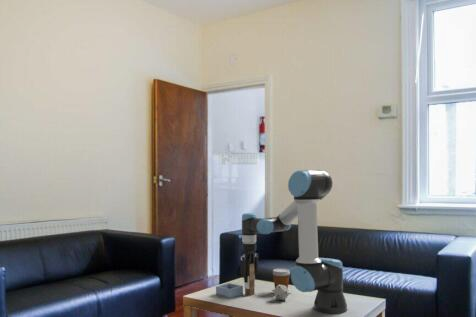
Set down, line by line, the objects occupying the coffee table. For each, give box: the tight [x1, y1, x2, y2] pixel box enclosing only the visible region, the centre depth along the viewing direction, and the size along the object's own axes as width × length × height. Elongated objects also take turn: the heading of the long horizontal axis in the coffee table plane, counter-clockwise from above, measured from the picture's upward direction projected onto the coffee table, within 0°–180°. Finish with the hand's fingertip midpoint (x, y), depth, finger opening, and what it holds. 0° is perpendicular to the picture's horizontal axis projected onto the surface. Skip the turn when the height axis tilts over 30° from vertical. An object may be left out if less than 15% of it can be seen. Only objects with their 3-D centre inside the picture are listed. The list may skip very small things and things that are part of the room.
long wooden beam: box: [244, 263, 255, 297], centre depth 235 cm, size 4×4×16 cm
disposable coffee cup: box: [272, 268, 291, 290], centre depth 238 cm, size 10×10×12 cm
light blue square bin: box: [215, 282, 244, 299], centre depth 235 cm, size 10×10×4 cm
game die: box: [271, 283, 292, 302], centre depth 224 cm, size 9×8×10 cm
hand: (249, 287), depth 235 cm, fingers closed on long wooden beam, 3 cm apart
